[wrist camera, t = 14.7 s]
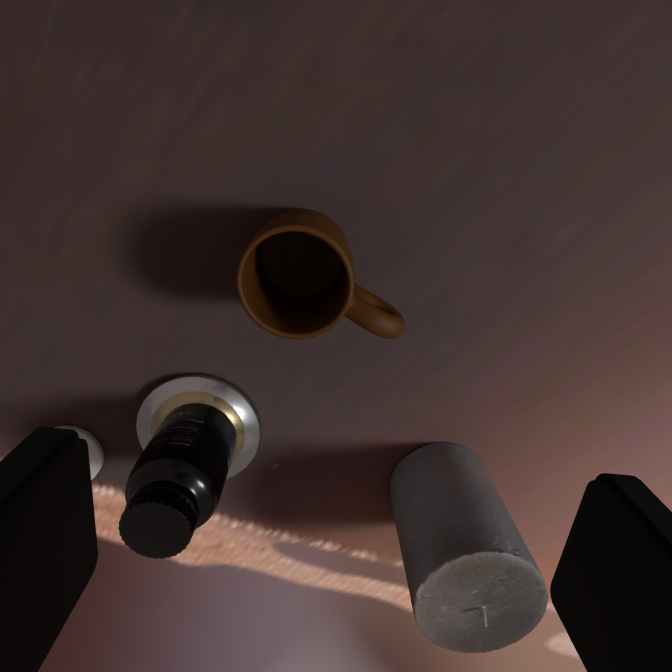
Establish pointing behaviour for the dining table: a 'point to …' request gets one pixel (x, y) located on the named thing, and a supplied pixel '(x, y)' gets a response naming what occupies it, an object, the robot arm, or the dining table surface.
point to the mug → (307, 280)
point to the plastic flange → (90, 449)
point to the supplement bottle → (177, 480)
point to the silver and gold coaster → (206, 392)
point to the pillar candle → (463, 552)
